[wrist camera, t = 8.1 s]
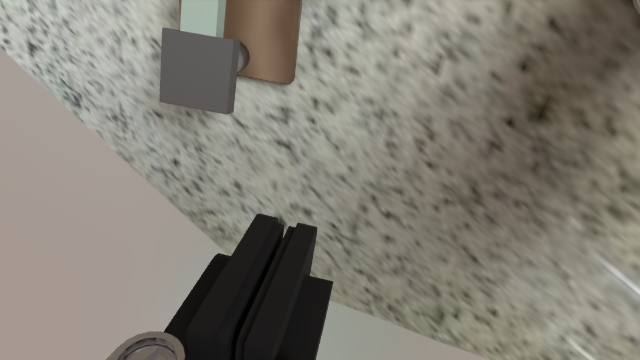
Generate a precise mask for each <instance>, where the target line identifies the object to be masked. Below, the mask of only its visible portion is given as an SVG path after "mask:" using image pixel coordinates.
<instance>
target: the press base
mask: <svg viewBox="0 0 640 360" xmlns="http://www.w3.org/2000/svg"><path fill="white" fill-rule="evenodd" d="M181 3H182V0H180V22H181ZM301 9H302V0H226V9H225V20H224V32H223V38H226V39H232V40H238V41H240V48H239V59H238V69H237V75H241V76H247V77H252V78H258V79H263V80H269V81H274V82H280V83H285V84H291V83H292V82H293V81H294V77H295V67H296V58H297V48H298V38H299V28H300V18H301Z"/></svg>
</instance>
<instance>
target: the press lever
mask: <svg viewBox="0 0 640 360" xmlns="http://www.w3.org/2000/svg"><path fill="white" fill-rule="evenodd" d="M225 9H226V0H182V3H181V22H180V30H175V29H169V28H162V53H161V79H160V102H164V103H169V104H175V105H180V106H185V107H190V108H196V109H201V110H206V111H211V112H217V113H222V114H229V113H232V112H233V111H234V100H235V90H236V79H237V69H238V59H239V48H240V41H238V40H232V39H226V38H223V32H224V20H225Z"/></svg>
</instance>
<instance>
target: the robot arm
mask: <svg viewBox="0 0 640 360" xmlns="http://www.w3.org/2000/svg"><path fill="white" fill-rule="evenodd" d="M632 1H633V4H634V7H635V8H636V10H637V11H638V13H639V15H640V0H632ZM283 232H284V225H282V224H278V218H276V217H272V216H267V215H263V214H257V215H256V217H255V218H254V220H253V221H252V223H251V225H250V226H249V228H248V230H247V231H246V233H245V234H244V236H243V238H242V239H241V241H240V243H239V244H238V246H237V248H236V249H235V251H234V252H233V254H232V256H228V255H224V254H220V253H218V254H217V255H215V257H214V258H213V259H212V261H211V262H210V264H209V265H208V266H207V268H206V269H205V271H204V272H203V274H202V275H201V277H200V279H199V280H198V281H197V283H196V285H195V286H194V287H193V289H192V290H191V292H190V293H189V295H188V297H187V298H186V299H185V301H184V302H183V304H182V305H181V307H180V308H179V310H178V311H177V313H176V314H175V316H174V317H173V319H172V320H171V322H170V323H169V325H168V326H167V328H166V329H165V331H164V332H146V333H143V334H138V335H136V336H134V337H132V338H130V339H128V340H126V341H125V342H124V343H123V344H121V345H120V346H119V347H118V348H117V349H116V350H115V351H114V352H113V353H112V354H111V355H110V356H109V357H108V358H107V359H106V360H316V356H317V352H318V348H319V343H320V339H321V335H322V331H323V327H324V322H325V318H326V313H327V309H328V304H329V300H330V295H331V290H332V285H333V282H332V281H328V280H324V279H320V278H316V277H312V276H310V271H311V265H312V259H313V253H314V247H315V241H316V235H317V227H314V226H310V225H306V224H301V223H297V225H296V228H295V227H291V226H289V227H288V229H287V231H286V234H285V236H284V238H283Z"/></svg>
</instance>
